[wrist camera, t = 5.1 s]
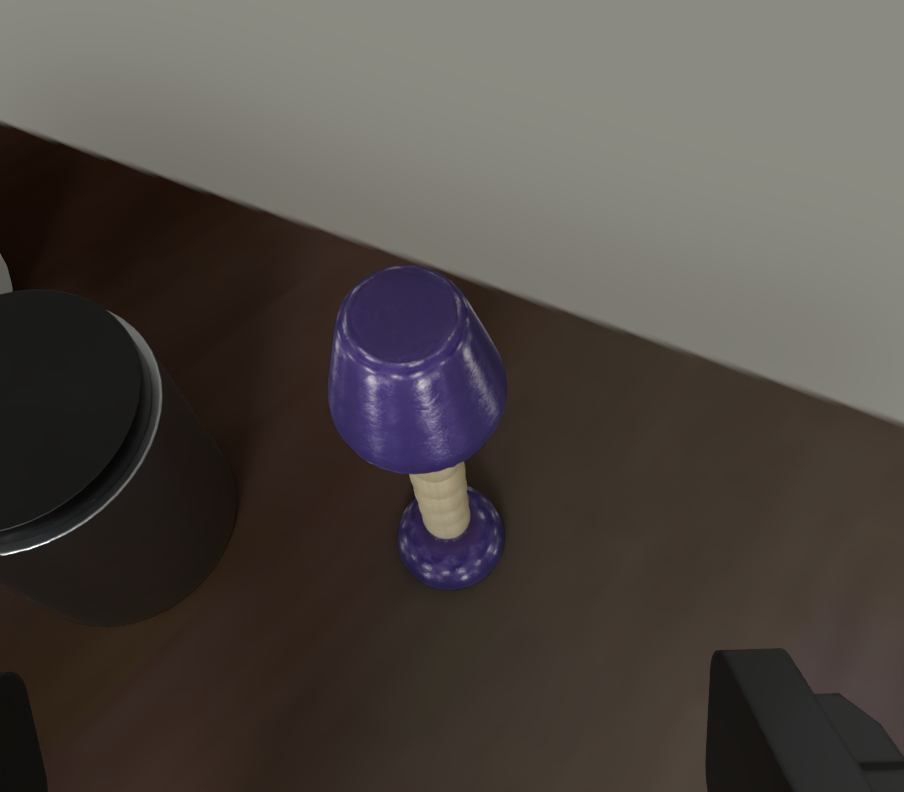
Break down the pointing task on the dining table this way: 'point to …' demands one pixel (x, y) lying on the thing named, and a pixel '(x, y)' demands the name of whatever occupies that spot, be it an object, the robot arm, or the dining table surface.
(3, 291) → the coffee cup
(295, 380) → the dining table surface
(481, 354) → the toy lamp
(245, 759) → the dining table surface
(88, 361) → the grey metal canister
